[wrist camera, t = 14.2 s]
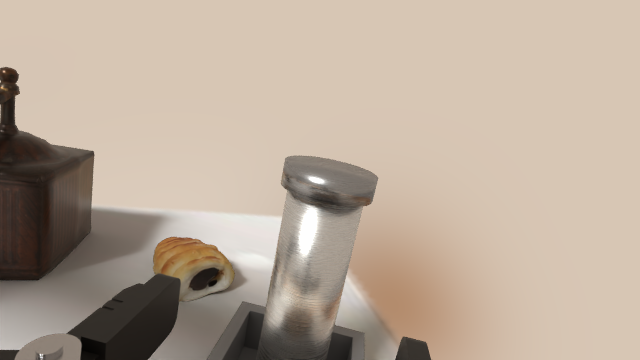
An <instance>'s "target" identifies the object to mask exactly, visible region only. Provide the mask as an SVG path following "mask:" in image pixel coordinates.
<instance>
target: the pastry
mask: <svg viewBox="0 0 640 360" xmlns="http://www.w3.org/2000/svg"><path fill="white" fill-rule="evenodd" d="M153 262H154V266H153V271H154V273H155V275H156V274H158V273H161V274H164V275H168V276H172V277H176V278H179V279H180V281H181V287H180V295H179V302H180V301H185V302H186V301H191V300H195V299H198V298H200V297H203V296H205V295H207V294H211V293H215V292H219V291H222V290H225V289H226V288H227V287H229V286H230V284H231V283H232V281H233V279H234V274H235V273H234V271H233V269H232V265H231V263H229V261H228V259H227V258H226V257H225V256H224V255H223V254H222V253H221V252H220V251H218V249H217V247H216V246H214V245H207V244H205V243H203V242H201V241H200V240H198V239H192V238H177V237H170V238H167V239H165V240H163V241H162V242H160V243H159V244H158V245H157V247H156V248H155V253H154V257H153Z"/></svg>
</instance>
